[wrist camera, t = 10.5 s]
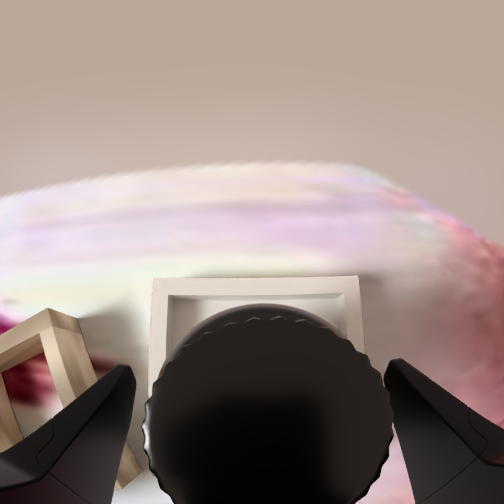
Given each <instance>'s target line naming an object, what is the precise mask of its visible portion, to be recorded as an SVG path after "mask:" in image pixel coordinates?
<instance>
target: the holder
mask: <svg viewBox="0 0 504 504" xmlns="http://www.w3.org/2000/svg"><path fill="white" fill-rule="evenodd" d="M43 352H45V355H46V359H47V362H48V365H49V369H50V372H51V375H52V378H53V381H54V384H55V387H56V389H57V392H58V395H59V397H60V400H61V403H62V405H63V408H65V407H66V406H67V405H69V404H70V403H71V402H72V401H73V400H75V399H76V398H77V397H78V396H80V395H81V394H82V393H83V392H84V391H86V390H87V389H88V388H89V387H91V386H92V385H93V384H94V383H95V382H97V381H98V379H97V377H96V374H95V372H94V369H93V367H92V364H91V361H90V358H89V355H88V353H87V350H86V347H85V344H84V341H83V338H82V334H81V331H80V328H79V325H78V321H77V318H75V317H72V316H69V315H66V314H63V313H61V312H58V311H55V310H52V309H50V308H46V309H45V310H43V311H41V312H39V313H38V314H36V315H34V316H32V317H31V318H29V319H27V320H25V321H24V322H22V323H20V324H18V325H17V326H15V327H13V328H12V329H10V330H8V331H7V332H5V333H3V334H1V335H0V453H1V452H3V451H5V450H7V449H8V448H10V447H12V446H13V445H15V444H16V443H18V442H20V441H21V440H23V439H24V438H23V436H22V434H21V431H20V429H19V426H18V424H17V421H16V418H15V416H14V413H13V410H12V407H11V404H10V401H9V398H8V395H7V392H6V388H5V385H4V382H3V378H2V374H1V372H3V371H5V370H7V369H9V368H12V367H14V366H16V365H18V364H20V363H22V362H24V361H26V360H28V359H30V358H32V357H34V356H36V355H39V354H41V353H43ZM142 471H143V470H142V468H141V467H140V465H139V463H138V462H137V460H136V458H135V456H134V455H133V453H132V451H131V449H130V447H129V446H128V444H127V442H125V446H124V449H123V453H122V457H121V462H120V466H119V470H118V474H117V479H116V483H115V488H114V490H118V489H123V488H124V487H125V486H126V485H127V484H128V483H130V482H131V481H132V480H133V479H134V478H135V477H136V476H137V475H139V474H140V473H141V472H142Z"/></svg>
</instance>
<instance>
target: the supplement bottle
mask: <svg viewBox="0 0 504 504" xmlns="http://www.w3.org/2000/svg"><path fill="white" fill-rule="evenodd" d="M389 401H390V393H389V392H388V390H387V389H386V388H385V387H384V386H383V383H382V377H381V373H380V372H378V371H377V370H376V369H374V368H373V367H372V366H371V364H370V360H369V358H368V356H367V355H365V354H364V353H361V352H359V351H357V350H356V349H355V348H354V345H353V344H352V342H351V341H350V340H348V339H347V338H346V337H345V336H344V335H343V334H342V333H341V332H340V331H339V330H338V329H337V328H335V327H334V326H333V325H332V324H330V323H329V322H327V321H326V320H324V319H322V318H321V317H319V316H317V315H315V314H313V313H310V312H308V311H305V310H303V309H299V308H296V307H293V306H288V305H282V304H273V303H256V304H247V305H241V306H237V307H233V308H229V309H226V310H224V311H221V312H218V313H216V314H214V315H212V316H210V317H208V318H206V319H205V320H203V321H201V322H200V323H198V324H197V325H196V326H194V327H193V328H191V329H190V330H189V331H188V332H187V333H186V334H185V335H184V336H183V337H182V338H181V339H180V340H179V341H178V342H177V343H176V344H175V346H174V347H173V348H172V350H171V351H170V353H169V354H168V356H167V358H166V359H165V361H164V363H163V365H162V367H161V370H160V372H159V375H158V378H157V380H156V381H155V382H154V383H153V386H152V396H151V397H150V398H149V399H148V400H147V402H146V403H145V413H146V417H145V419H144V421H143V423H142V426H141V428H142V431H143V434H144V437H145V440H144V444H143V450H144V452H145V454H146V455H147V456H148V458H149V469H150V471H151V472H152V473H153V474H154V475H155V476H156V477H157V479H158V483H159V486H160V489H161V490H163V491H164V492H165V493H167V494H168V495H169V496H170V497H171V499H172V501H173V503H174V504H355V503H356V502H357V501H358V500H360V499H362V498H363V497H364V496H366V495H367V493H368V491H369V489H370V486H371V485H372V484H373V483H374V482H375V481H376V480H377V479H378V478H379V477H380V473H381V469H382V466H383V464H384V463H385V462H386V460H387V459H388V457H389V445H390V443H391V441H392V439H393V437H394V434H393V430H392V422H393V418H394V413H393V411H392V409H391V407H390V406H389Z"/></svg>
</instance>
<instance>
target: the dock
mask: <svg viewBox="0 0 504 504" xmlns="http://www.w3.org/2000/svg"><path fill="white" fill-rule="evenodd" d="M256 303H273V304H282V305H288V306H293V307H296V308H299V309H303V310H305V311H308V312H310V313H313V314H315V315H317V316H319V317H321V318H322V319H324V320H326V321H327V322H329V323H330V324H332V325H333V326H334V327H335V328H337V329H338V330H339V331H340V332H341V333H342V334H343V335H344V336H345V337H346V338H347V339H348V340H350V341H351V342H352V344H353V345H354V348H355V349H356V350H357V351H359V352H361V353H364V354H365V349H364V333H363V319H362V308H361V297H360V288H359V279H358V276H331V277H285V278H153V287H152V300H151V315H150V334H149V369H148V395H149V398H150V397H151V396H152V386H153V383H154V382H155V381H156V380H157V378H158V375H159V372H160V370H161V367H162V365H163V363H164V361H165V359H166V358H167V356H168V354H169V353H170V351H171V350H172V348H173V347H174V346H175V344H176V343H177V342H178V341H179V340H180V339H181V338H182V337H183V336H184V335H185V334H186V333H187V332H188V331H189V330H190V329H191V328H193V327H194V326H196V325H197V324H198V323H200V322H201V321H203V320H205V319H206V318H208V317H210V316H212V315H214V314H216V313H218V312H221V311H224V310H226V309H229V308H233V307H237V306H241V305H247V304H256ZM153 476H155V475H154V474H153Z"/></svg>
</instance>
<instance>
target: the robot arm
mask: <svg viewBox="0 0 504 504" xmlns="http://www.w3.org/2000/svg"><path fill="white" fill-rule="evenodd" d="M384 384H385V388H386V389H387V390H388V392H389V393H390V401H389V406H390V407H391V409H392V411H393V413H394V418H393V424H394V427H395V430H396V433H397V436H398V440H399V443H400V446H401V450H402V453H403V457H404V460H405V464H406V468H407V471H408V475H409V479H410V483H411V487H412V491H413V495H414V499H415V504H504V429H503V428H501V427H499V426H497V425H496V424H494V423H492V422H491V421H489V420H487V419H486V418H484V417H483V416H481V415H480V414H478V413H477V412H475V411H474V410H472V409H471V408H470V407H468V406H467V405H465V404H464V403H463V402H461V401H460V400H459V399H457V398H456V397H454V396H453V395H452V394H450V393H449V392H447V391H446V390H445V389H443V388H442V387H440V386H439V385H438V384H436V383H435V382H434V381H432V380H431V379H429V378H428V377H427V376H425V375H424V374H422V373H421V372H420V371H418V370H417V369H416V368H414V367H413V366H411V365H410V364H409V363H407V362H406V361H404V360H403V359H401V358H399V359H393V360H391V361H390V362H389V364H388V367H387V369H386V372H385V374H384ZM135 391H136V379H135V377H134V374H133V372H132V369H131V367H130V366H129V365H126V364H118V365H116V366H115V367H114V368H113V369H111V370H110V371H109V372H108V373H106V374H105V375H104V376H103V377H102V378H100V379H99V380H98V381H97V382H95V383H94V384H93V385H92V386H91V387H89V388H88V389H87V390H86V391H84V392H83V393H82V394H81V395H80V396H78V397H77V398H76V399H75V400H73V401H72V402H71V403H70V404H69V405H67V406H66V407H65V408H64V409H62V410H61V411H60V412H59V413H58V414H56V415H55V416H54V417H53V419H52V418H51V419H50V420H49V421H48V422H46V423H45V424H44V425H43V426H41V427H40V428H39V429H37V430H36V431H35V432H33V433H32V434H30V435H29V436H27V437H26V438H24V439H23V440H21V441H20V442H18V443H16V444H15V445H13V446H12V447H10V448H8V449H7V450H5V451H3V452H1V453H0V504H111V502H112V497H113V492H114V488H115V483H116V479H117V474H118V470H119V466H120V462H121V457H122V453H123V449H124V446H125V442H126V438H127V434H128V430H129V426H130V422H131V417H132V410H133V404H134V397H135Z"/></svg>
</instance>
